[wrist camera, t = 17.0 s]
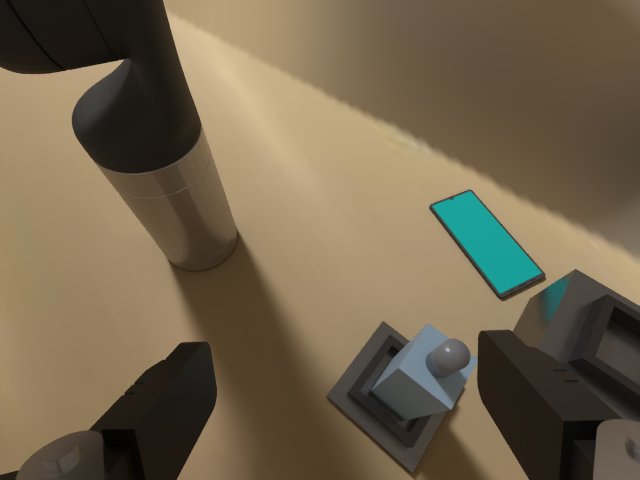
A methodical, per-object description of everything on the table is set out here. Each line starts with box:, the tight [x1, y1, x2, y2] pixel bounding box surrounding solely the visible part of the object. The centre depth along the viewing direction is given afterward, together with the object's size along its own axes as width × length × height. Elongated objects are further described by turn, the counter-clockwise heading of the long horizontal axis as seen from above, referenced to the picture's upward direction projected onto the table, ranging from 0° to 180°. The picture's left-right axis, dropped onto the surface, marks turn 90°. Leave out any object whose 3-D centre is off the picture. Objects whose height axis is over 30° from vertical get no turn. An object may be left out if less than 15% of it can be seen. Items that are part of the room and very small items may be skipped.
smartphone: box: [429, 190, 545, 299], centre depth 44 cm, size 7×1×15 cm
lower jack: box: [327, 321, 447, 473], centre depth 34 cm, size 10×10×2 cm
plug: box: [369, 324, 478, 421], centre depth 27 cm, size 4×4×16 cm
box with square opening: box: [513, 269, 640, 422], centre depth 32 cm, size 12×12×10 cm
